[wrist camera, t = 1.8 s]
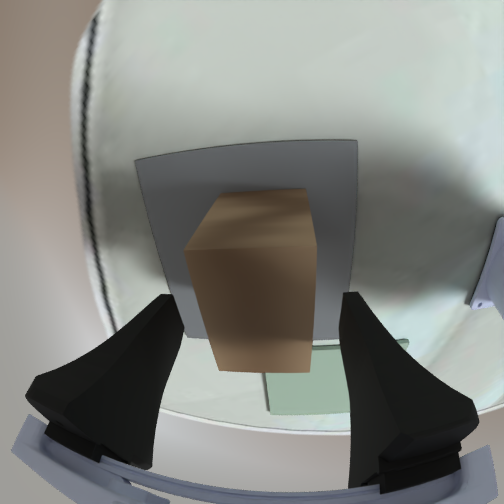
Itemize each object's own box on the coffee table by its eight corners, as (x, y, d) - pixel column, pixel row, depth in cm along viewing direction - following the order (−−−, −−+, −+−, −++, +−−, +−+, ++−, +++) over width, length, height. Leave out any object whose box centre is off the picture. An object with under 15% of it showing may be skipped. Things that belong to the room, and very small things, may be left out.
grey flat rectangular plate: (356, 140, 12) (357, 141, 12) (340, 337, 19) (341, 339, 19) (136, 160, 14) (134, 160, 14) (188, 335, 21) (187, 337, 21)
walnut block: (305, 188, 14) (316, 246, 9) (306, 295, 17) (309, 372, 12) (220, 193, 14) (183, 250, 9) (237, 295, 18) (219, 370, 13)
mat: (408, 339, 19) (409, 342, 19) (375, 406, 25) (376, 409, 25) (263, 347, 21) (262, 350, 20) (270, 411, 27) (270, 414, 26)
